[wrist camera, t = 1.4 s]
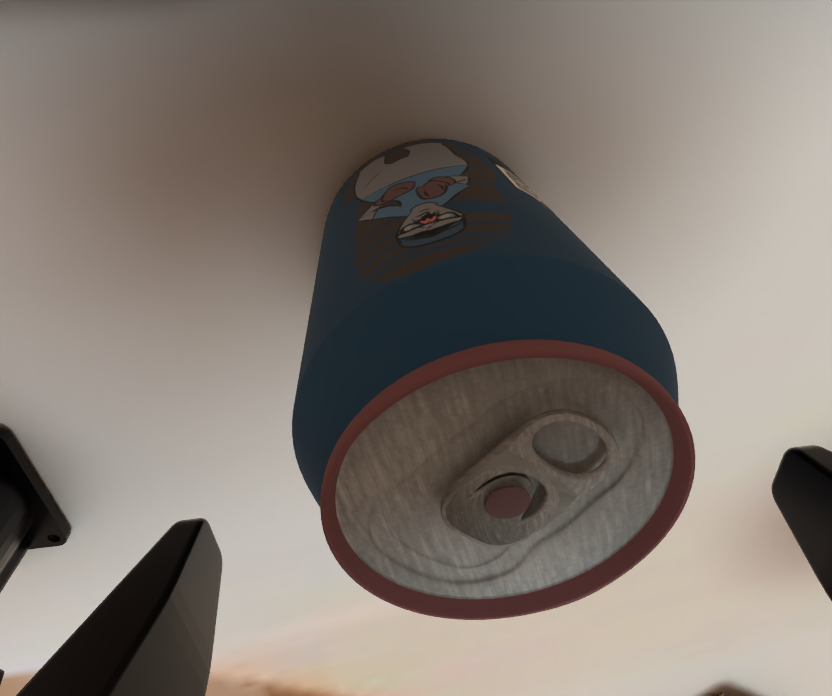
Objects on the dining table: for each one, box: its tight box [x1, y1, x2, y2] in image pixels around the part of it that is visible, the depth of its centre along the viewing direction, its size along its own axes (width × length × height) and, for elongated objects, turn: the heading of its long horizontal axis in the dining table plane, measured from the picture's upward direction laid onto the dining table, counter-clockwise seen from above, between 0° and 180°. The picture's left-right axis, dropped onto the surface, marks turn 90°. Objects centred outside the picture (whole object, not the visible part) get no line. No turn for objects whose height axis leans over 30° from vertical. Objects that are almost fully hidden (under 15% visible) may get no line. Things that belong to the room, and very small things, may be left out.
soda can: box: [292, 139, 695, 620], centre depth 13 cm, size 7×7×12 cm
